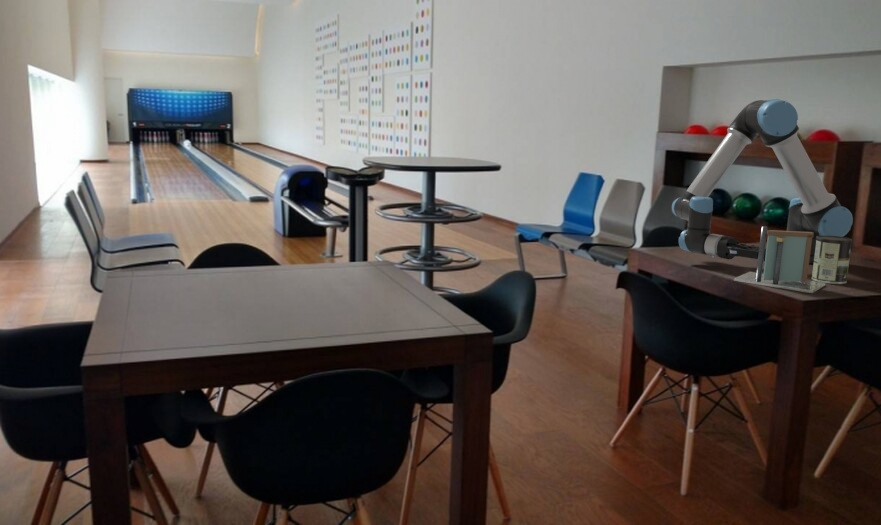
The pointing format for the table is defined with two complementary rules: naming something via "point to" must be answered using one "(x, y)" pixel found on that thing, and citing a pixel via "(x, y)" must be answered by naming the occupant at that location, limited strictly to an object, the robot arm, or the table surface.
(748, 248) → the robot arm
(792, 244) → the panel
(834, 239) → the coffee can
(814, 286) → the gate frame
